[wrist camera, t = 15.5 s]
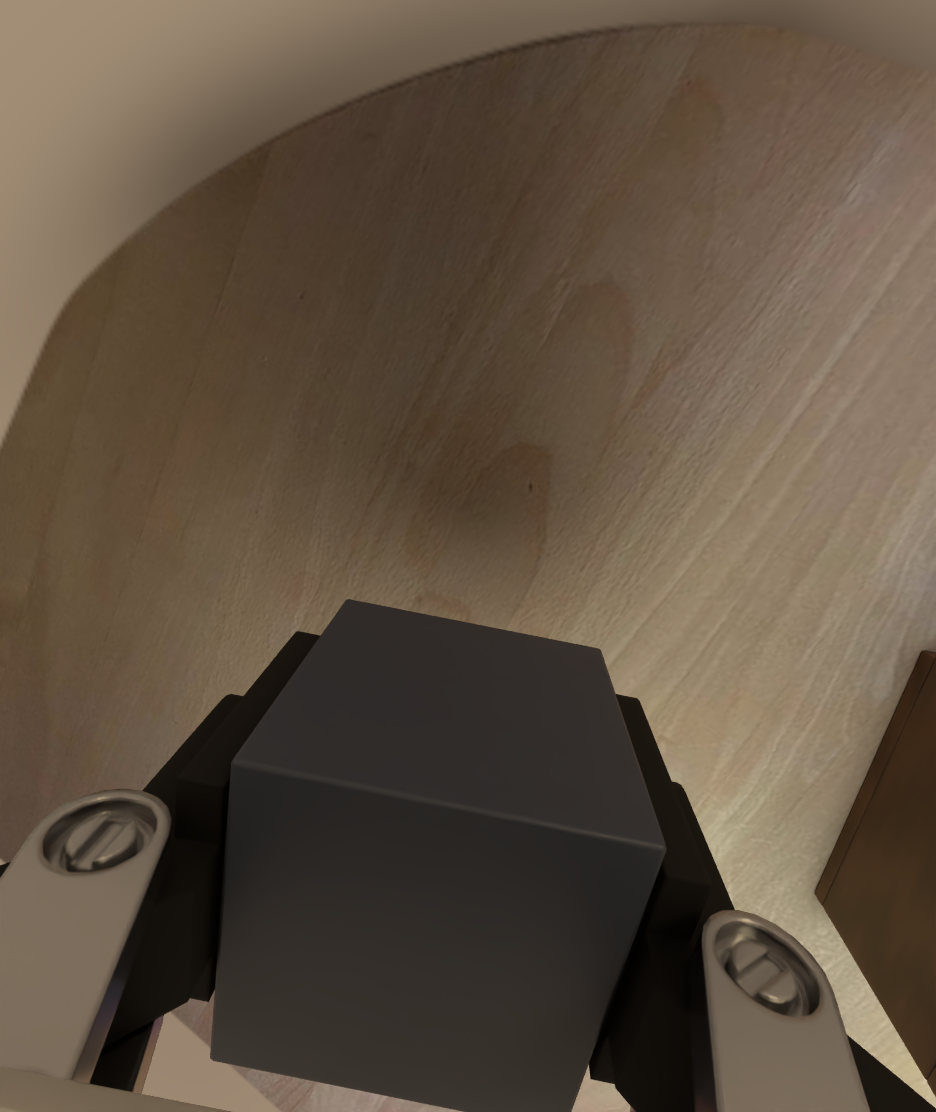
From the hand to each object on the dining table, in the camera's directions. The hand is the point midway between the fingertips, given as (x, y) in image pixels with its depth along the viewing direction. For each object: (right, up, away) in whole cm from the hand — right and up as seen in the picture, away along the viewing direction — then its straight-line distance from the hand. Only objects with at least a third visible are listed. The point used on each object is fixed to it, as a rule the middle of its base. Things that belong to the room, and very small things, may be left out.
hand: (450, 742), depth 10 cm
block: (0, 0, 0) cm, 0 cm away
